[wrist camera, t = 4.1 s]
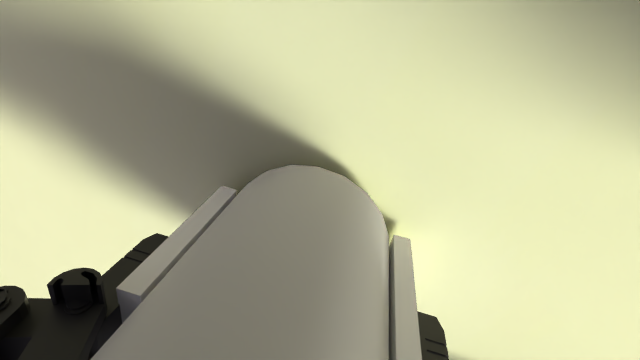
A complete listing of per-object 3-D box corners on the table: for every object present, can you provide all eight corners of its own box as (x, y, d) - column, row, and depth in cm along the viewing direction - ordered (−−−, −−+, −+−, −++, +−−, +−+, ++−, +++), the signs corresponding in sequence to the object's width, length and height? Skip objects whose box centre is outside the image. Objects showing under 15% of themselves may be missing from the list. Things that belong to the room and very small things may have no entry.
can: (413, 265, 15) (464, 792, 5) (285, 298, 18) (140, 681, 8) (346, 129, 13) (168, 573, 3) (211, 190, 16) (-149, 526, 5)
